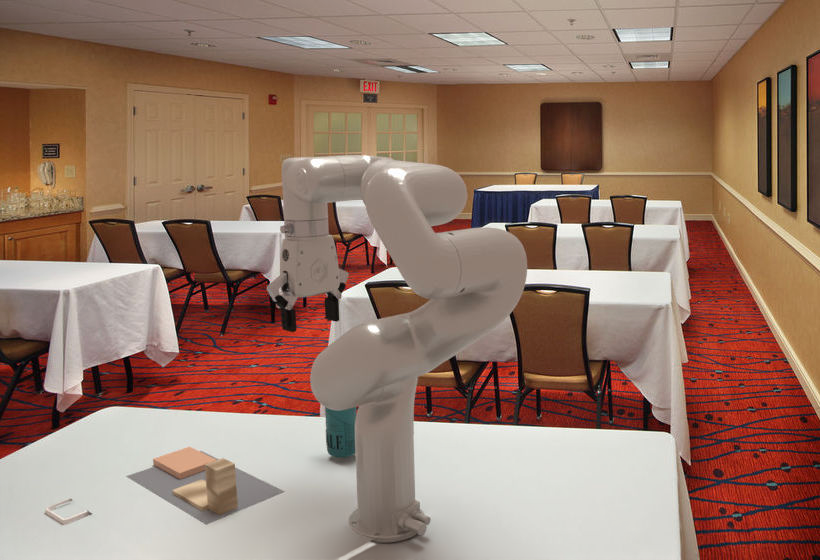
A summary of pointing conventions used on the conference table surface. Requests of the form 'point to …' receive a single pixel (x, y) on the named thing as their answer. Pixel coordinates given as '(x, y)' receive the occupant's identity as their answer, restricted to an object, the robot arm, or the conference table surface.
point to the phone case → (66, 520)
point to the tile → (183, 462)
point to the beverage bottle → (340, 432)
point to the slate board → (164, 482)
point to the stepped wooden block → (212, 488)
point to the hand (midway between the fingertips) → (311, 325)
